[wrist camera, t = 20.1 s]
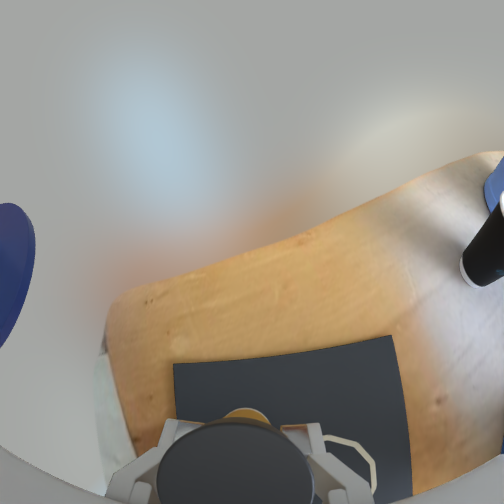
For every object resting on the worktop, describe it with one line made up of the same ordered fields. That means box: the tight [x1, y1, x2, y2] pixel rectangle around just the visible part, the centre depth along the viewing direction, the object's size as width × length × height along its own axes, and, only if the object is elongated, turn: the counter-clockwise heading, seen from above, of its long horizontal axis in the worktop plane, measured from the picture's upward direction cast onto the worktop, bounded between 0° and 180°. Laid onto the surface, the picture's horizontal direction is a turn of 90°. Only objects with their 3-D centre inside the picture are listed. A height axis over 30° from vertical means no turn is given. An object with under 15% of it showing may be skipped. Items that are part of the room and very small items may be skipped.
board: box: [173, 335, 413, 504], centre depth 18 cm, size 20×22×1 cm
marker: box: [156, 408, 315, 504], centre depth 10 cm, size 3×3×13 cm
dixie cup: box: [459, 191, 504, 288], centre depth 23 cm, size 8×8×11 cm
